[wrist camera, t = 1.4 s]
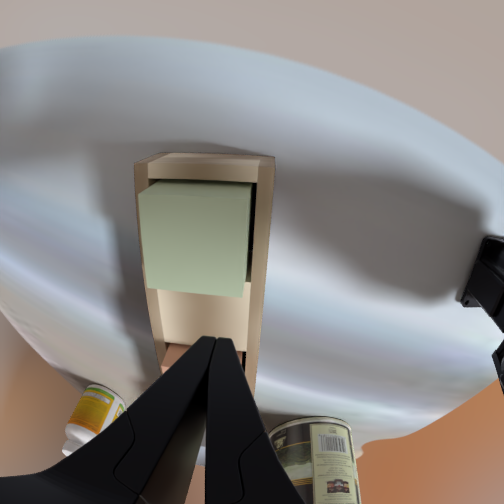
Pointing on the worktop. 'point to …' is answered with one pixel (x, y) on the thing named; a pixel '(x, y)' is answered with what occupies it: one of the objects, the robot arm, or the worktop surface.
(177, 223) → the sage key
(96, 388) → the supplement bottle
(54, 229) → the worktop surface
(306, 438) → the coffee can
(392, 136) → the worktop surface
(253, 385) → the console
